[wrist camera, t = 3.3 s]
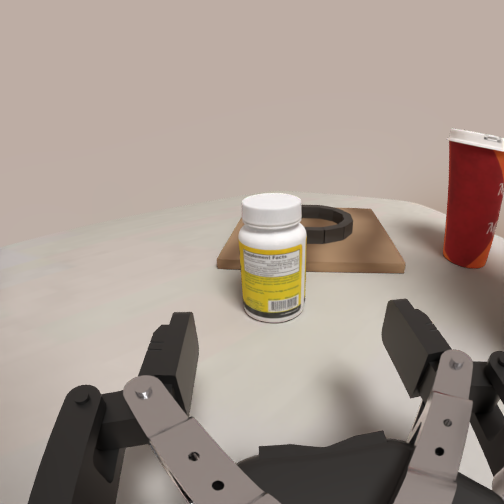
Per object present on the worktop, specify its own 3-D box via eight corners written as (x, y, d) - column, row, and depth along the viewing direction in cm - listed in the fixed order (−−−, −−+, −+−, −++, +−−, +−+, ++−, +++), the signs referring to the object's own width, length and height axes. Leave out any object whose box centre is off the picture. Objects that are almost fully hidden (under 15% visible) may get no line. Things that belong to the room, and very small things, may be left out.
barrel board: (217, 268, 31) (215, 244, 30) (248, 212, 47) (247, 196, 46) (404, 273, 28) (407, 248, 27) (370, 215, 44) (371, 198, 43)
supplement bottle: (263, 285, 28) (259, 188, 24) (314, 299, 25) (318, 195, 22) (230, 313, 24) (221, 204, 20) (287, 332, 22) (288, 213, 18)
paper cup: (503, 275, 26) (525, 143, 20) (443, 270, 28) (461, 129, 22) (479, 246, 33) (493, 136, 27) (427, 241, 35) (438, 125, 29)
